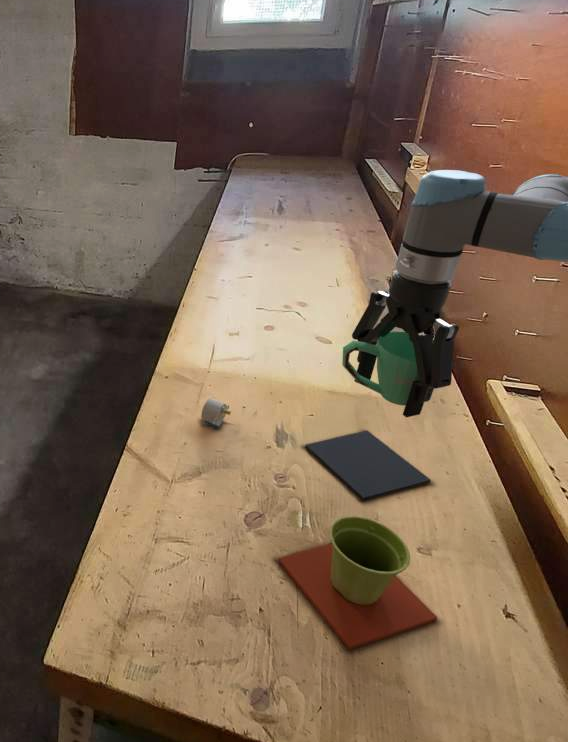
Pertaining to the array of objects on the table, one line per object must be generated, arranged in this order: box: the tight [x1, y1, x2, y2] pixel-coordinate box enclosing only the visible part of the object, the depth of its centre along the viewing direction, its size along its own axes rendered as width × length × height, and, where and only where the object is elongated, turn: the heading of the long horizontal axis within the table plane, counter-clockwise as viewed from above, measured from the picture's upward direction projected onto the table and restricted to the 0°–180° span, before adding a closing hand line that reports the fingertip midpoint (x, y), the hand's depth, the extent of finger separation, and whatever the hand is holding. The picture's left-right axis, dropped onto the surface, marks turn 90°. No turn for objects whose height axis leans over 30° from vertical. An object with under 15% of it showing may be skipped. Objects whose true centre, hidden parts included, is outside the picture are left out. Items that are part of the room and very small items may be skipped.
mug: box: [341, 331, 434, 407], centre depth 93 cm, size 15×10×10 cm
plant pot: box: [329, 515, 411, 605], centre depth 77 cm, size 9×9×9 cm
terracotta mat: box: [277, 542, 438, 650], centre depth 79 cm, size 14×14×1 cm
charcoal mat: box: [305, 430, 432, 501], centre depth 101 cm, size 14×14×1 cm
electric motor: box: [200, 397, 232, 429], centre depth 112 cm, size 7×5×5 cm
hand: (385, 396), depth 95 cm, fingers closed on mug, 9 cm apart
